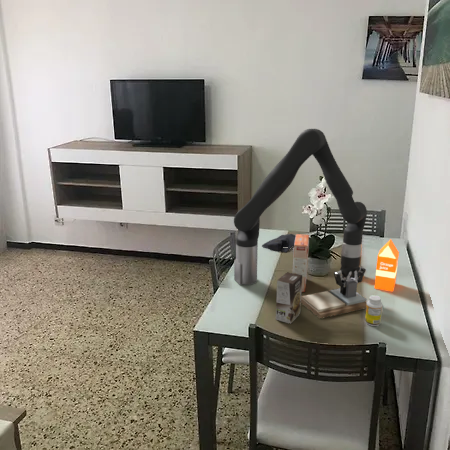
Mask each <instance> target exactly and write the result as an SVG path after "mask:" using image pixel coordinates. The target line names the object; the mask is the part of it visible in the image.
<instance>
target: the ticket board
mask: <svg viewBox="0 0 450 450" xmlns="http://www.w3.org/2000/svg"><path fill="white" fill-rule="evenodd" d="M339 288H340V287H339ZM339 288H337V289H339ZM334 289H335V288H332V290H334ZM330 290H331V289H329V290H328V289H327V290H324V291H319V292H315V293H309V294H304V295H301V303H302V304H301V305H302V306H304V305H305V306H306V307H307V308H306V307H305V306H304V307H305V308H306V309H308V311H310V310H311V311H312V312H313V313H312V312H311V311H310V312H311V313H312V314H313V315H315V316H316V315H317V316H318V317H319V318H318V317H317V316H316V317H317V318H318V319H320V318H322V319H324V318H323V317H326V318H328V317H327V316H330V317H332V316H331V315H334V316H337V315H336V314H339V315H342V314H341V313H343V314H347V313H351V312H350V311H352V312H356V311H360V310H363V309H364V310H366V304H367V301H365V302H361V303H356V304H352V305H347V304H346V303H345V302H344V301H342V300H341V299H339V298H338V297H337V296H335V295H334V294H332V293H331V292H330ZM355 310H356V311H355ZM346 312H347V313H346Z"/></svg>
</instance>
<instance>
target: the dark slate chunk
mask: <svg viewBox="0 0 450 450" xmlns="http://www.w3.org/2000/svg"><path fill="white" fill-rule="evenodd" d="M295 237H296V234H294V233H288V234H281V235H279V236H277V237H276V238H273V239H270V240H269V241H266V242H265V243H263V244H262V245H261V247H262V248H263V249H267V250H270V251H275V252H279V251H281V253H287V251H290V250H291V249H292V248H293V247H294V246H293V245H294V243H295ZM292 246H293V247H292ZM283 247H288V248H283ZM291 247H292V248H291ZM290 248H291V249H290ZM289 249H290V250H289Z"/></svg>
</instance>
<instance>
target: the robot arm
mask: <svg viewBox="0 0 450 450" xmlns="http://www.w3.org/2000/svg"><path fill="white" fill-rule="evenodd" d="M311 156H313V157H314V158H315V160H316V162H317V163H318V165H319V167H320V169H321V171H322V174H323V177H324V180H325V182H326V184H327V187H328V188H329V190H330V192H331V193H332V194H331V195H333V197H334V199H335V201H336V203H337V207H338V209H339V213H340V214H341V217H342V218H343V220H344V221H346V222H347V223H346V226H345V228H344V230H343V236H342V246H341V252H340V253H341V254H340V268H339V270H338V271H334V272H333V276H334V279H335V284H336V285H337V286H339V288H340V287H341V288H340V293H341V294H342V295H346V285H347V282H348V281H349V278H351V279H353V280H354V281H356V282H357V285H358V284H360V283H362V281H363V279H364V276H365V274H366V271H367V269H366V268H365V267H363V266H361V263H362V262H361V261H362V251H363V246H362V244H363V231H364V228H365V225H366V222H367V221H366V219H367V213H368V211H367V209H368V208H367V206H366V205H365V203H363V202H362V201H355V200H354V197H353V195H354V191H353V188H352V187H351V185H350V182H349V181H348V180H347V178H346V177H345V174H344V173H343V172H342V170H341V168H340V166H339V165H338V163H337V161H336V159H335V157H334V155H333V152H332V150H331V148H330V145H329V142H328V140H327V138H326V135H325V133H324V131H322V130H320V129H319V128H308V129H305V130H303V131H301V132H300V133H299V135H298V136H297V138H296V140H295V141H294V143H293V144H292V145H291V147H290V149H289V151H287V153H286V154H285V155H284V156H283V157H282V159H280V161H278V163H277V164H276V165H275V166H274V168H272V170H271V171H270V172H269V173H268V174H267V175H266V176H265V178H264V179H263V181H262V182H261V184H260V185H258V188H257V189H256V191H255V192H254V194H253V195H252V197H251V198H250V199H249V201H248V202H247V203H245V205H244V206H243V207H242V208H240V209H239V210H238V211H237V212H236V214H235V215H234V218H233V224H234V227H235V228H236V230H237V235H236V238H235V259H234V261H233V264H234V270H233V271H234V272H233V273H234V275H233V276H234V278H233V280H234V281H235V282H236V283H237V284H239V285H243V286H245V285H247V286H248V285H254V284H256V283H257V282H258V241H259V237H260V223H261V222H260V217H261V216H262V214H263V213H264V212H265V211H266V210H267V209H268V208H269V207H270V206H272V204H274V203H275V202H276V201H277V200H278V199H279V198H280V197H281V196H282V195H283V194H284V192H285V191H286V190H287V189H288V188H289V187H290V185H291V184H292V183H293V181H294V179H295V177H296V175H297V173H298V172H299V170H300V168H301V167H302V165H303V164H304V163H305V162H306V161H307V160H308V159H309V158H311Z"/></svg>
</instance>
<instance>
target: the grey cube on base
mask: <svg viewBox="0 0 450 450" xmlns="http://www.w3.org/2000/svg"><path fill="white" fill-rule="evenodd" d="M340 288H341V287H340V286H339V289H338V288H333V289H334V290H333V289H329V290H330V292H331V293H332V294H334V295H335V296H337V297H338V298H339V299H341V300H342V301H344V302H345V303H346V304H347V305H352V304H356V303H361V302H367V301H368V300H367V298H366V297H365V296H364V295H361V294H360V293H359V292H357V289H358V284H357V282H356V281H354V280H353V279H351V278H349V281H348V282H347V285H346V295H342V294H341V293H340Z"/></svg>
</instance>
